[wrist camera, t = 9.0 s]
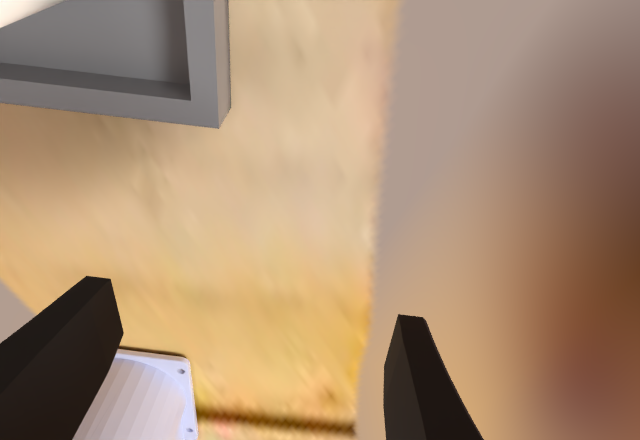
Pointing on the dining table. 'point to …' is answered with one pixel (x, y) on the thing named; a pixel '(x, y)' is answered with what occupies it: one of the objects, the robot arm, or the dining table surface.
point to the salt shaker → (22, 9)
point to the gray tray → (122, 60)
